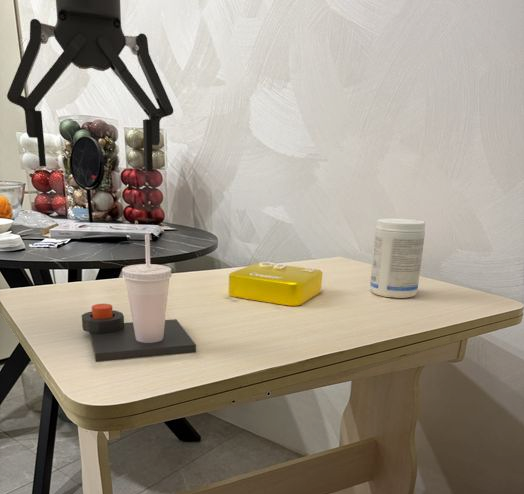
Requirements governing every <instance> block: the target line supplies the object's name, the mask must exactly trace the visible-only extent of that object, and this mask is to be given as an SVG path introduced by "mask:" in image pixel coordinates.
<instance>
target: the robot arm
mask: <svg viewBox="0 0 524 494" xmlns="http://www.w3.org/2000/svg"><path fill="white" fill-rule="evenodd" d="M55 7H56V23H55V25H51V24H46V23H43V22H41V21H40V20H39V19H37V18H32V19H31V20H30V22H29V40H28V43H27V45H26V48H25V50H24V52H23V55H22V57H21V60H20V63H19V65H18V67H17V70H16V72H15V74H14V77H13V79H12V82H11V85H10V86H9V89H8V91H7V94H6V98H7V100H8V101H9V102H10V103H11V104H14V105H16V106H18V107H20V108H22V109H23V111H24V117H25V128H26V134H27V136H28V138H32V139H36V140H37V141H36V143H37V150H38V163H39V164H38V165H39V167H47V160H46V148H45V137H44V126H43V125H44V124H43V114H42V110H36V107H37V106H38V105H39V104H40V102H42V100H43V99H44V97H46V95H47V94H48V93H49V91H50V90H51V89H52V87H53V86H54V85H55V84H56V82H57V81H58V80H59V79H60V78H61V76H63V74H64V72H66V70H67V69H68V68H69V67H70V65H71V64H73V65H74V66H75V67H76V68H78V69H79V70H81V69H82V70H88V69H92V70H95V71H98V72H99V71H100V72H105V71H107V70H109V69H110V70H111V71H112V72H113V74H114V75H115V76H117V77H118V79H119V80H120V82H121V83H122V84H123V85H124V87H125V88H126V90H127V91H128V92H129V94H130V95H131V96H132V97H133V99H134V100H135V102H136V103H137V104H138V105H139V107H140V109H142V111H143V112H144V113H145V115H146V116H147V117H148V118H145V119H142V138H143V140H142V142H143V170H144V171H146V172H153V171H154V167H153V166H154V165H153V163H154V162H153V158H154V157H153V146H159V145H160V142H161V126H160V125H161V120H162V119H163V118H166V117H168V116H172V115H173V114H174V108H173V105H172V103H171V101H170V100H171V99H170V98H169V96H168V94H167V92H166V89H165V87H164V85H163V82H162V80H161V78H160V76H159V73H158V71H157V69H156V67H155V64H154V62H153V60H152V57H151V55H150V51H149V42H148V41H149V40H148V37H147V35H146V33H141V32H140V33H138V34H137V35H125V34H124V31H123V28H122V12H121V0H55ZM52 37H53V38H54V39H55V41H56V42H57V44H58V45H59V46H60V48H61V49H62V53H61V54H60V55H59V56H58V58H57V59H56V61H55V62H54V63H53V64H52V65H51V67H50V68H49V69H48V70H47V72H46V73H45V74H44V75H43V76H42V78H41V79H40V80H39V82H38V83H37V84H36V86H35V87H34V88H33V89H32V90H31V92H30V93H29V95H28V96H27V97H26V96H24V95H22V94H23V92H24V89H25V87H26V85H27V82H28V79H29V77H30V75H31V73H32V70H33V68H34V65H35V63H36V60H37V58H38V55H39V53H40V50H41V46H42V45H46V44H48V43H49V39H50V38H52ZM125 47H128V48H129V50H130V52H131V54H132V55H134V56H136V57H137V61H138V63H139V66H140V68H141V70H142V73H143V75H144V77H145V79H146V82H147V84H148V87H149V88H150V91H151V92H152V95H153V97H154V100H155V101H156V104H157V106H158V108H157V107H156V105H155V104H154V102H153V101H152V99H151V98H150V97H149V96H148V94H147V93H146V92H145V90H144V89H143V87H141V85H140V84H139V81H137V80H136V78H135V77H134V75H132V73H131V71H130V69H128V67H127V65H126V63H125V62H124V61H123V60H122V58H121V57H120V54H121V53H122V51H123V50H124V49H125Z"/></svg>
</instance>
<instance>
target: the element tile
mask: <svg viewBox="0 0 524 494" xmlns="http://www.w3.org/2000/svg"><path fill="white" fill-rule="evenodd" d="M322 283H323V271H322V270H321V269H316V268H310V267H309V268H308V267H300V266H294V265H293V266H292V265H286V264H277V263H275V262H272V261H271V262H269V261H262V262H260V261H259V262H256V263H253V264H250V265H247V266H245V267H243V268H239V269H237V270H234V271H232V272H230V273H229V274H228V295H229V296H230V297H232V298H236V299H243V300H250V301H255V302H256V301H257V302H261V303H270V304H276V305H281V306H287V307H288V306H290V307H298V306H301V305H303V304H305V303H306V302H308V301H309V300H311V299H312V298H314V297H315V296H317V295H319V294H320V293H321V291H322Z"/></svg>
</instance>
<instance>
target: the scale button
mask: <svg viewBox="0 0 524 494" xmlns="http://www.w3.org/2000/svg"><path fill="white" fill-rule="evenodd" d="M113 310H114V309H113V305H112V304H110V303H95V304H92V306H91V311H92V316H93V318H94V319H107V318H112V317H113Z"/></svg>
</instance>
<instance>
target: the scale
mask: <svg viewBox="0 0 524 494" xmlns="http://www.w3.org/2000/svg"><path fill="white" fill-rule="evenodd" d="M112 310H113V317H112V318H107V319H94V318H93V316H92V310H91V311H87V312H84V313H83V314H82V315H81V326H82V331H84V332H87V333H88V335H89V339H90V343H91V347H92V352H93V355H94V360H95V362H96V363H99V362H109V361H119V360H120V361H121V360H131V359H139V358H141V359H142V358H151V357H162V356H173V355H183V354H194V353H197V345H196V343H195V342H194V340H193V339H192V338H191V336H190V335H189V334H188V332H187V331H186V330H185V328H184V327H183V326H182V325H181V324H180V322H179V321H178V319H176V318H175V319H173V318H172V319H165V326H164V335H163V340H161V341H159V342H154V343H143V342H139V341H137V340H136V337H135V331H134V326H133V321H132V322H130V321H129V322H125V315H124V313H123V312H121V311H118V310H114V309H112Z"/></svg>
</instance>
